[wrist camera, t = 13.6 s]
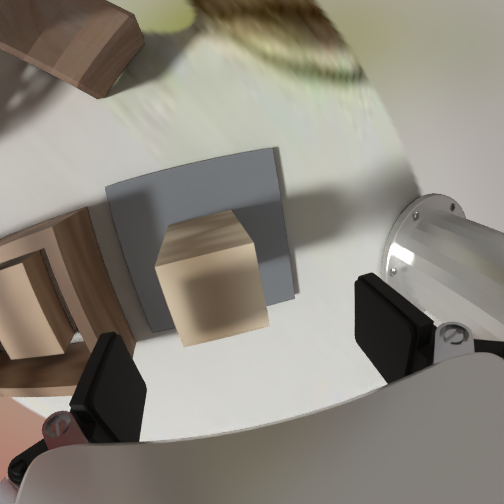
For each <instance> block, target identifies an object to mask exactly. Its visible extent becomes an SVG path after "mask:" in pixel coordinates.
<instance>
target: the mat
mask: <svg viewBox="0 0 504 504" xmlns="http://www.w3.org/2000/svg"><path fill="white" fill-rule="evenodd" d="M105 190H106V194H107V198H108V202H109V206H110V210H111V213H112V217H113V221H114V224H115V228H116V231H117V235H118V238H119V241H120V244H121V248H122V251H123V254H124V257H125V260H126V263H127V266H128V269H129V272H130V275H131V278H132V281H133V283H134V286H135V289H136V292H137V294H138V297H139V300H140V302H141V305H142V308H143V310H144V313H145V315H146V318H147V320H148V323H149V325H150V328H151V330H152V333H154V332H159V331H164V330H169V329H173V328H176V326H175V324H174V321H173V318H172V316H171V313H170V310H169V308H168V305H167V302H166V299H165V296H164V294H163V291H162V288H161V285H160V282H159V279H158V276H157V273H156V270H155V264H156V261H157V258H158V255H159V252H160V249H161V246H162V243H163V240H164V237H165V234H166V231H167V228H168V225H170V224H174V223H178V222H182V221H186V220H190V219H194V218H198V217H202V216H206V215H210V214H215V213H219V212H223V211H227V210H232V212H233V213H234V215H235V216H236V218H237V219H238V221H239V222H240V223H241V225H242V226H243V228H244V229H245V231H246V232H247V234H248V235H249V237H250V238H251V239H252V241H253V242H254V247H255V252H256V257H257V262H258V267H259V272H260V278H261V283H262V288H263V293H264V298H265V303H266V306H270V305H273V304H277V303H281V302H284V301H288V300H292V299H295V295H294V288H293V280H292V272H291V265H290V257H289V250H288V243H287V236H286V229H285V223H284V216H283V209H282V203H281V197H280V190H279V184H278V178H277V172H276V166H275V160H274V154H273V148H268V149H262V150H256V151H250V152H245V153H239V154H234V155H229V156H224V157H219V158H214V159H209V160H205V161H200V162H196V163H191V164H187V165H183V166H179V167H174V168H170V169H166V170H163V171H159V172H155V173H151V174H147V175H144V176H140V177H137V178H133V179H130V180H126V181H123V182H119V183H116V184H113V185H110V186H107V187H105Z"/></svg>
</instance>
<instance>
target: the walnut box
mask: <svg viewBox="0 0 504 504" xmlns="http://www.w3.org/2000/svg"><path fill="white" fill-rule="evenodd" d="M43 248H45V251H46V254H47V257H48V259H49V262H50V265H51V268H52V270H53V273H54V275H55V278H56V281H57V283H58V285H59V288H60V290H61V293H62V295H63V297H64V300H65V302H66V304H67V306H68V309H69V311H70V313H71V315H72V317H73V319H74V321H75V323H76V326H77V328H78V330H79V332H80V334H81V336H82V337H83V339H84V341H85V342H79V343H73V344H70V342H71V340H72V338H73V336H74V334H75V332H74V330H73V328H72V326H71V324H70V322H69V320H68V318H67V316H66V314H65V312H64V310H63V308H62V305H61V303H60V301H59V299H58V296H57V294H56V292H55V289H54V287H53V284H52V282H51V279H50V277H49V274H48V272H47V269H46V266H45V264H44V261H43V258H42V255H41V253H40V249H43ZM22 255H23V256H22ZM19 256H20V257H19ZM16 257H17V258H16ZM5 261H6V262H5ZM113 331H114V332H116V334H117V335H118V334H119V335H121V337H122V339H123V341H124V343H125V345H126V347H127V349H128V351H129V353H130V355H131V357H132V358H133V354H134V349H135V345H136V341H135V339H134V337H133V334H132V332H131V330H130V328H129V325H128V323H127V321H126V318H125V316H124V314H123V311H122V309H121V306H120V304H119V302H118V299H117V297H116V294H115V291H114V289H113V286H112V284H111V281H110V278H109V275H108V273H107V270H106V267H105V264H104V261H103V258H102V255H101V252H100V249H99V246H98V243H97V240H96V237H95V234H94V230H93V227H92V223H91V220H90V216H89V213H88V209H87V207H85V208H82V209H79V210H76V211H73V212H70V213H67V214H64V215H62V216H59V217H56V218H53V219H50V220H48V221H45V222H42V223H40V224H37V225H34V226H32V227H29V228H27V229H24V230H21V231H19V232H16V233H14V234H12V235H9V236H7V237H4V238H2V239H0V341H1V343H2V345H3V346H4V348H5V350H6V352H7V353H2V352H1V350H0V396H2V397H4V396H5V397H51V396H72V395H73V394H74V391H75V389H76V387H77V384H78V382H79V380H80V377H81V375H82V373H83V371H84V368H85V366H86V364H87V362H88V359H89V357H90V355H91V353H92V351H93V349H94V347H95V344H96V342H97V340H98V338H99V336H100V334H102V333H107V332H113Z"/></svg>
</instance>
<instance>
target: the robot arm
mask: <svg viewBox="0 0 504 504" xmlns="http://www.w3.org/2000/svg"><path fill="white" fill-rule="evenodd" d="M381 277H382V279H380V278H379V277H378V276H377V275H375V274H374V273H368V274H365V275H361V276H359V277H358V280H357V281H355V339H356V342H357V344H358V345H359V346H360V348H361V349H362V350H363V352H364V353H365V354H366V356H367V357H368V358H369V359H370V361H371V362H372V363H373V365H374V366H375V367H376V369H377V370H378V371H379V373H380V374H381V375H382V377H383V378H384V379H385V381H386V382H387V383H388V384H387V385H385V386H382V387H380V388H377V389H375V390H372V391H370V392H367V393H365V394H362V395H359V396H357V397H354V398H351V399H349V400H346V401H343V402H340V403H337V404H334V405H331V406H328V407H325V408H322V409H319V410H315V411H312V412H309V413H305V414H302V415H298V416H295V417H291V418H288V419H284V420H280V421H276V422H272V423H268V424H263V425H259V426H254V427H250V428H245V429H240V430H235V431H229V432H223V433H217V434H211V435H205V436H197V437H190V438H181V439H172V440H160V441H146V442H139V439H140V432H141V425H142V418H143V411H144V405H145V399H146V393H147V388H146V384H145V382H144V380H143V378H142V376H141V375H140V373H139V371H138V369H137V367H136V365H135V363H134V361H133V359H132V357H131V355H130V353H129V351H128V349H127V347H126V345H125V343H124V341H123V339H122V337H121V335H119V334H118V335H117V334H116V332H114V331H113V332H107V333H102V334H100V336H99V338H98V340H97V342H96V344H95V347H94V349H93V351H92V353H91V355H90V357H89V359H88V362H87V364H86V366H85V368H84V371H83V373H82V375H81V377H80V380H79V382H78V384H77V387H76V389H75V391H74V394H73V396H72V399H71V401H70V404H69V405H70V407H71V410H70V412H67V411H58V412H55V413H53V414H52V415H50V416H49V417H48V418H47V419H46V420H45V422H44V424H43V427H42V434H43V437H44V439H42V440H41V441H39V442H38V443H36V444H35V445H33V446H32V447H30V448H28V449H27V450H25V451H24V452H22V453H21V454H20V455H18V456H16V457H15V458H14V459H13V460H12V461H11V463H10V464H9V467H8V477H9V479H7V478H5V477H4V479H3V480H2V481H1V482H0V504H504V233H502V232H500V231H497V230H494V229H492V228H489V227H487V226H484V225H481V224H479V223H476V222H473V221H470V220H468V219H466V217H465V214H464V212H463V210H462V208H461V207H460V205H459V204H458V203H457V202H456V201H455V200H453V199H452V198H450V197H448V196H445V195H442V194H428V195H424V196H422V197H420V198H418V199H416V200H415V201H414V202H412V203H411V204H410V205H409V206H408V207H407V208H406V209H405V210H404V211H403V212H402V213H401V215H400V216H399V218H398V219H397V221H396V222H395V224H394V226H393V228H392V230H391V232H390V234H389V236H388V239H387V242H386V245H385V248H384V252H383V258H382V266H381ZM425 310H427V311H428V312H429V313H431V314H432V315H433V316H434V317H436V318H437V319H438V320H440V321H441V322H442V323H443V324H441V325H440V326H439V327H438V328H437V327H436V326H435V325H434V324H433V323H434V321H433V320H432V319H430V318H429V317H428V316H427V315H426V314H424V313H423V311H425Z"/></svg>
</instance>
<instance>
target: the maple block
mask: <svg viewBox="0 0 504 504" xmlns="http://www.w3.org/2000/svg"><path fill="white" fill-rule="evenodd" d="M155 270H156V273H157V276H158V279H159V282H160V285H161V288H162V291H163V294H164V296H165V299H166V302H167V305H168V308H169V310H170V313H171V316H172V318H173V321H174V324H175V326H176V329H177V332H178V334H179V337H180V339H181V342H182V344H183V347H187V346H191V345H196V344H200V343H205V342H209V341H213V340H217V339H221V338H225V337H229V336H233V335H237V334H241V333H245V332H249V331H253V330H257V329H260V328H264V327H268V326H270V324H269V319H268V314H267V309H266V303H265V298H264V293H263V288H262V283H261V278H260V272H259V267H258V262H257V257H256V252H255V247H254V242H253V241H252V239H251V238H250V237H249V235H248V234H247V232H246V231H245V229H244V228H243V226H242V225H241V223H240V222H239V221H238V219H237V218H236V216H235V215H234V213H233V212H232V210H227V211H223V212H219V213H215V214H210V215H206V216H202V217H198V218H194V219H190V220H186V221H182V222H178V223H174V224H170V225H168V228H167V231H166V234H165V237H164V240H163V243H162V246H161V249H160V252H159V255H158V258H157V261H156V264H155Z"/></svg>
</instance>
